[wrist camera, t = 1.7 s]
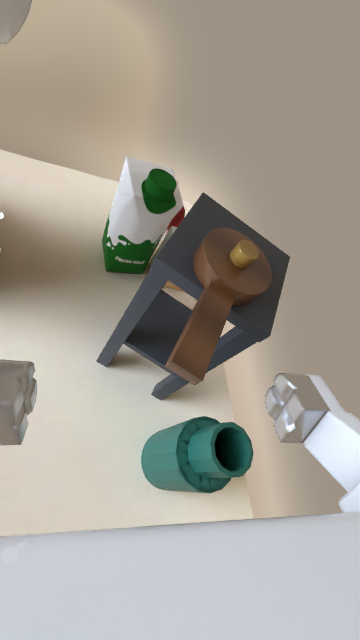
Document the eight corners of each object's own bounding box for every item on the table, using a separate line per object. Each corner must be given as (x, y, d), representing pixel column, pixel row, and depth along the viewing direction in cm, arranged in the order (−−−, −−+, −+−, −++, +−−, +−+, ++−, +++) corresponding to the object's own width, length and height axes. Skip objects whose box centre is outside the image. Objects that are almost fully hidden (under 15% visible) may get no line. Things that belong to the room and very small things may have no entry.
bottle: (131, 450, 41) (183, 435, 27) (172, 420, 45) (234, 395, 32) (159, 502, 39) (229, 514, 26) (199, 466, 44) (276, 460, 30)
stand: (160, 401, 46) (270, 336, 25) (95, 361, 44) (155, 257, 24) (187, 343, 53) (290, 256, 32) (132, 307, 51) (203, 191, 31)
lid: (221, 402, 20) (251, 390, 17) (136, 348, 19) (154, 327, 16) (264, 271, 29) (288, 249, 26) (207, 230, 28) (226, 203, 25)
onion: (171, 217, 67) (187, 189, 61) (179, 237, 65) (196, 210, 59) (149, 215, 64) (162, 186, 58) (156, 235, 62) (171, 208, 56)
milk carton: (101, 275, 52) (134, 184, 36) (96, 235, 55) (125, 136, 39) (147, 278, 56) (195, 198, 40) (140, 241, 59) (181, 154, 43)
